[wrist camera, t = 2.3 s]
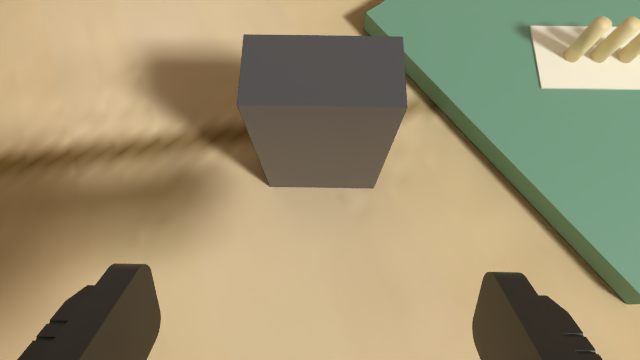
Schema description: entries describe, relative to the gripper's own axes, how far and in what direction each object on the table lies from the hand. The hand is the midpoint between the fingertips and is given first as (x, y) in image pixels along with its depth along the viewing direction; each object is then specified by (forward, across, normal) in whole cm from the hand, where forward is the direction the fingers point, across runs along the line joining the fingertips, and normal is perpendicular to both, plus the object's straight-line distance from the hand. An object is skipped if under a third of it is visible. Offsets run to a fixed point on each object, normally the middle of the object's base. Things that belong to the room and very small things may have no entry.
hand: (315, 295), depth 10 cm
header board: (+19, -16, -2) cm, 25 cm away
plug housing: (+14, 0, +3) cm, 14 cm away
